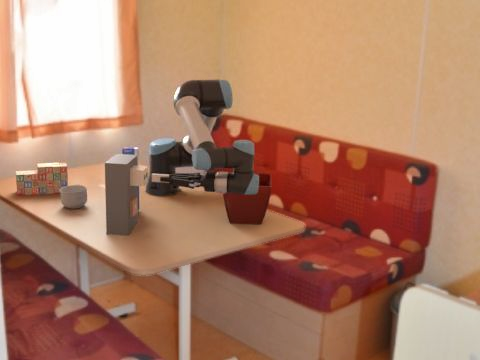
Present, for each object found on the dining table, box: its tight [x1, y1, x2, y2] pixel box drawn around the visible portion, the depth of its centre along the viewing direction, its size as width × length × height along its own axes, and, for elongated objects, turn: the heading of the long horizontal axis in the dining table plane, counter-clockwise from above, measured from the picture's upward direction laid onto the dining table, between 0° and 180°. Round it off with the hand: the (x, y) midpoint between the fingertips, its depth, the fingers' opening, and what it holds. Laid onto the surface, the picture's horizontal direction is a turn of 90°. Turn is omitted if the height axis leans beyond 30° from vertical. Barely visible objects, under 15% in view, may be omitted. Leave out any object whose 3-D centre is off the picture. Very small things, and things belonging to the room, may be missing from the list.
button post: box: [104, 153, 139, 237], centre depth 238 cm, size 8×14×27 cm, turn 173°
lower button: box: [130, 196, 139, 217], centre depth 239 cm, size 8×6×6 cm
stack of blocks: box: [15, 162, 69, 196], centre depth 280 cm, size 21×6×12 cm, turn 108°
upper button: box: [130, 165, 149, 187], centre depth 236 cm, size 8×6×6 cm
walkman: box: [121, 147, 140, 159], centre depth 318 cm, size 8×3×12 cm, turn 102°
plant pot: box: [222, 171, 273, 225], centre depth 255 cm, size 19×19×17 cm
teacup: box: [59, 183, 88, 210], centre depth 265 cm, size 14×11×8 cm
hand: (152, 177), depth 234 cm, fingers closed
